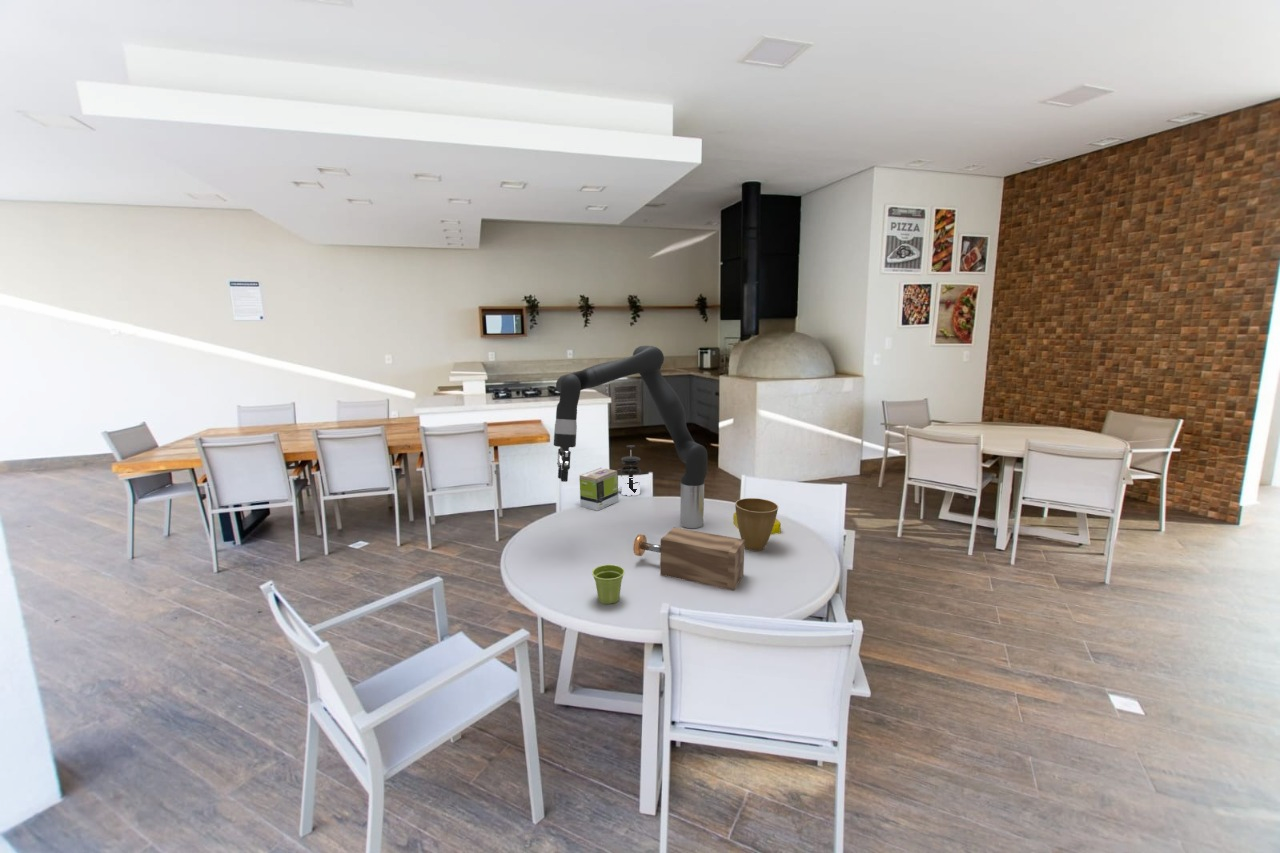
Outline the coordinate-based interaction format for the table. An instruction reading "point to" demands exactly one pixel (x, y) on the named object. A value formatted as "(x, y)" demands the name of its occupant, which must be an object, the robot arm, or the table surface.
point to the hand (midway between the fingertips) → (562, 480)
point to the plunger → (644, 546)
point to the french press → (630, 467)
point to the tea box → (598, 488)
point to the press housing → (702, 558)
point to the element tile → (775, 529)
